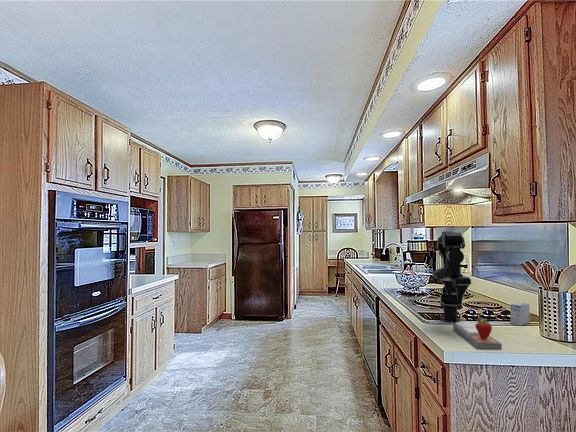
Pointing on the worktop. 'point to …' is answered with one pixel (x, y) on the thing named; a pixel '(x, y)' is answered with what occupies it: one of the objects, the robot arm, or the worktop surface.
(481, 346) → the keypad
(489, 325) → the fruit
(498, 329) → the worktop surface
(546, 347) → the worktop surface
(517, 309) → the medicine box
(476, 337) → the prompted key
